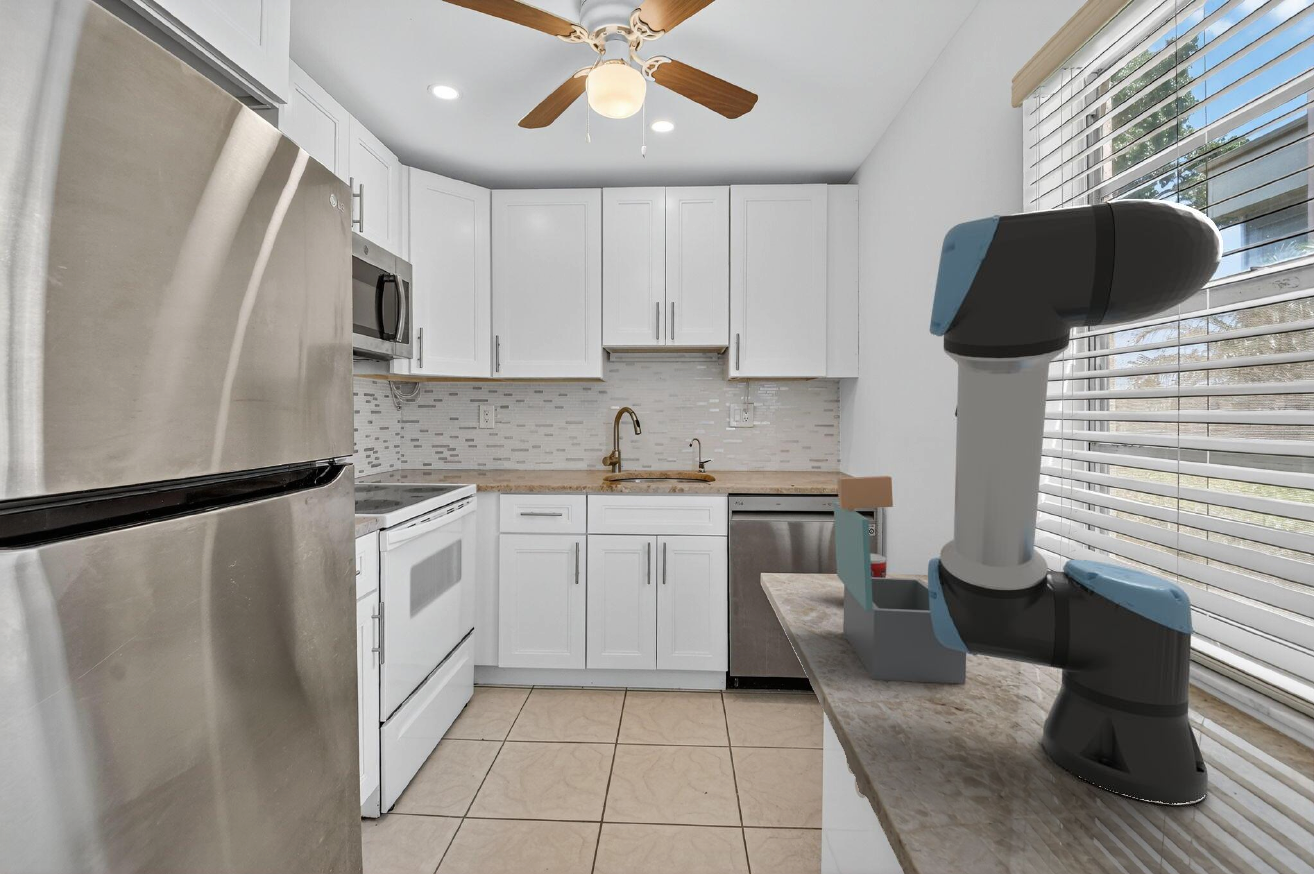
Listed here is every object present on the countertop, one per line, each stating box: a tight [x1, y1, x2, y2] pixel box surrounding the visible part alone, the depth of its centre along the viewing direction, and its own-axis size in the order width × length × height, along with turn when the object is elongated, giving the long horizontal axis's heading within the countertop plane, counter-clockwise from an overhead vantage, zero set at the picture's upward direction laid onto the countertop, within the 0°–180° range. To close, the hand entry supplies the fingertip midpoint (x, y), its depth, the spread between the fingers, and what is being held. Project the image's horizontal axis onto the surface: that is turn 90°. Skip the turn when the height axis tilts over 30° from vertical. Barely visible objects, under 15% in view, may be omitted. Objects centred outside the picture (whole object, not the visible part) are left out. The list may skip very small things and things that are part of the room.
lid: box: [833, 475, 894, 611], centre depth 99 cm, size 21×20×8 cm
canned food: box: [870, 552, 887, 578], centre depth 127 cm, size 8×8×11 cm
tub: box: [842, 577, 967, 685], centre depth 99 cm, size 20×14×11 cm
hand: (985, 456), depth 102 cm, fingers open, 13 cm apart
